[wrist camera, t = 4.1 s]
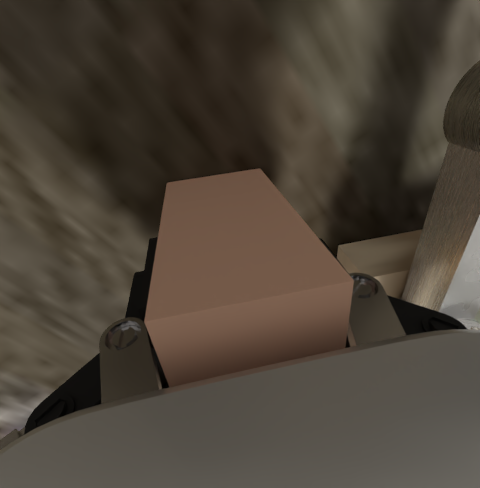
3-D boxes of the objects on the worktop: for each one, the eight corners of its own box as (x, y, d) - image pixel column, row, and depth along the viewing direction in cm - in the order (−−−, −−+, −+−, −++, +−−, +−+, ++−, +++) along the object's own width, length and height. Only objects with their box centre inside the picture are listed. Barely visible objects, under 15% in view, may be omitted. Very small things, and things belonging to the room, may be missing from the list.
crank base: (440, 225, 16) (484, 254, 14) (414, 301, 19) (446, 335, 17) (161, 278, 15) (158, 320, 12) (185, 350, 18) (186, 393, 16)
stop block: (259, 168, 12) (354, 280, 6) (267, 278, 15) (333, 437, 9) (166, 182, 12) (144, 321, 5) (193, 292, 15) (201, 470, 8)
